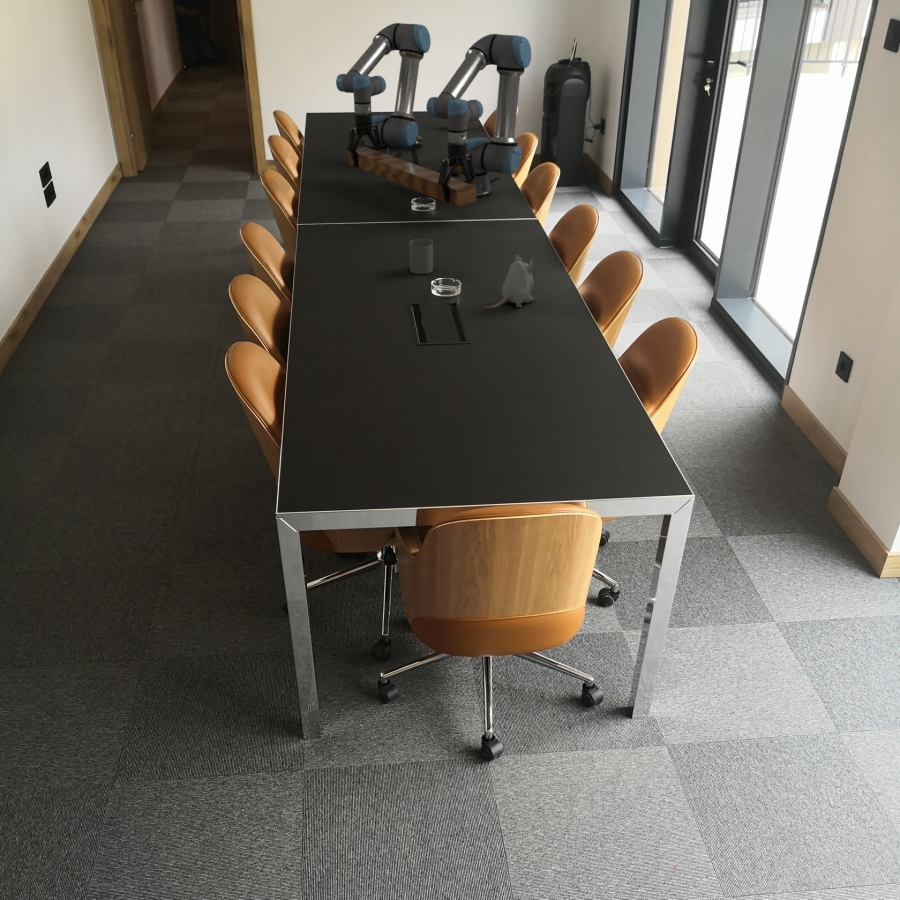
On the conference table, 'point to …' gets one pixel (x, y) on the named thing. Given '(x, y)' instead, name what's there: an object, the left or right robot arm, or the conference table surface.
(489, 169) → the right robot arm
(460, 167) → the potato
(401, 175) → the wide beam
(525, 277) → the toy
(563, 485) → the conference table surface
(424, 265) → the cup
